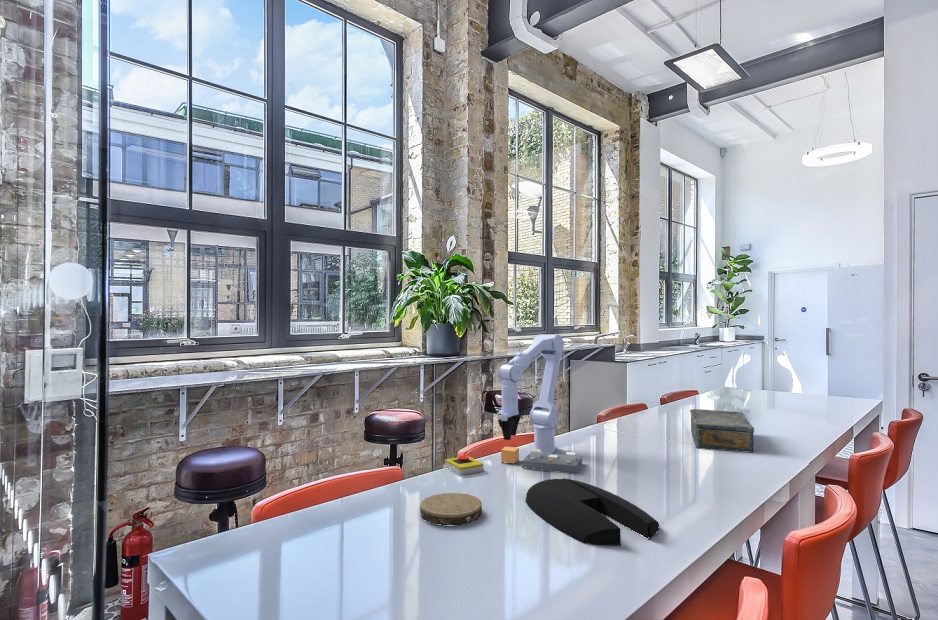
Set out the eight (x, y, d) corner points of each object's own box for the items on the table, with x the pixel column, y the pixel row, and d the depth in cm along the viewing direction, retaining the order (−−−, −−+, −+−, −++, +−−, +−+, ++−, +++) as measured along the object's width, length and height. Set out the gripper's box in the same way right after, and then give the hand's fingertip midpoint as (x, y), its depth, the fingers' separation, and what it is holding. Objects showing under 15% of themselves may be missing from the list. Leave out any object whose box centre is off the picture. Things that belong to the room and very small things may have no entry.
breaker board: (531, 458, 185) (530, 446, 185) (582, 463, 179) (581, 450, 179) (522, 468, 174) (522, 454, 174) (576, 473, 168) (576, 459, 168)
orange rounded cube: (505, 459, 185) (505, 446, 185) (519, 460, 183) (518, 447, 183) (501, 462, 180) (501, 449, 180) (515, 464, 179) (515, 451, 179)
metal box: (743, 434, 221) (743, 411, 221) (756, 454, 191) (755, 426, 191) (689, 431, 229) (689, 408, 229) (693, 449, 198) (693, 423, 198)
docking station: (579, 484, 159) (579, 467, 159) (678, 535, 121) (677, 514, 121) (506, 494, 150) (506, 477, 150) (588, 554, 112) (588, 531, 112)
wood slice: (408, 513, 135) (408, 502, 136) (456, 499, 146) (455, 488, 146) (445, 533, 123) (445, 520, 123) (494, 516, 134) (494, 504, 134)
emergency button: (465, 451, 182) (488, 461, 169) (465, 463, 182) (488, 475, 169) (442, 454, 177) (463, 465, 164) (442, 467, 177) (463, 479, 164)
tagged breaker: (549, 463, 179) (549, 454, 179) (558, 464, 178) (558, 455, 178) (547, 465, 177) (547, 456, 177) (556, 466, 176) (556, 457, 176)
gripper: (504, 395, 190) (505, 432, 190) (492, 401, 177) (492, 441, 177) (523, 396, 188) (523, 433, 188) (512, 402, 174) (512, 443, 174)
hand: (510, 437), depth 182 cm, fingers open, 6 cm apart
